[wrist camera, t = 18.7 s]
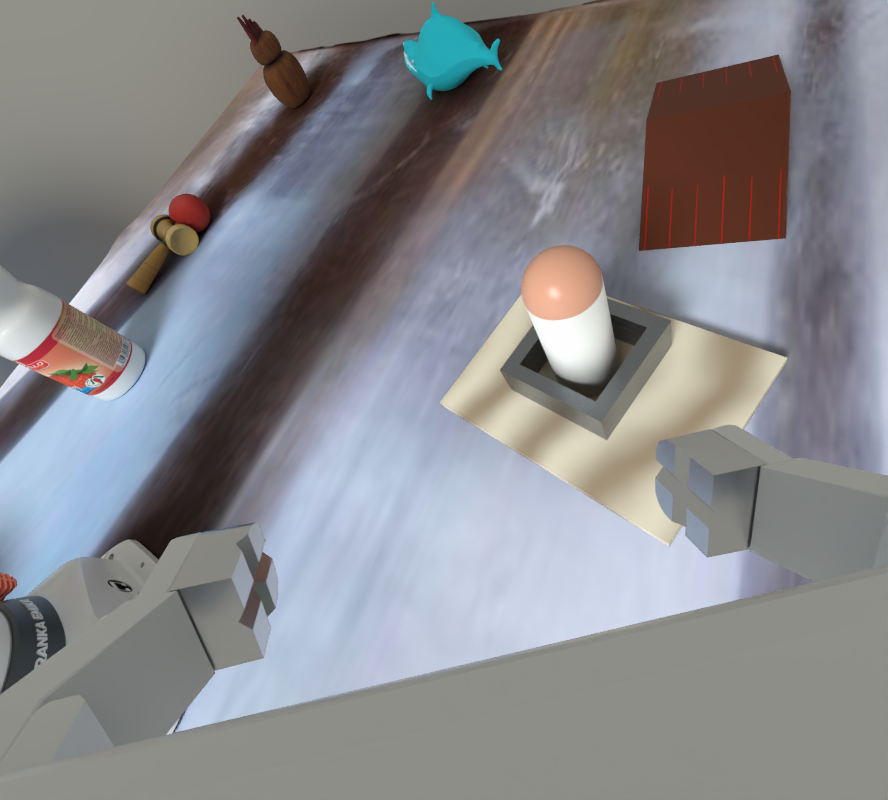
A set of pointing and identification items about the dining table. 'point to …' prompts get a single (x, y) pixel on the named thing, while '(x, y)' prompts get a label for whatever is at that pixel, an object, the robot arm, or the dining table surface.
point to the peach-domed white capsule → (572, 318)
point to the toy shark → (447, 53)
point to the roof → (717, 157)
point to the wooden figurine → (277, 66)
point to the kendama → (172, 236)
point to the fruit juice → (65, 342)
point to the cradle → (623, 388)
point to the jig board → (644, 424)
